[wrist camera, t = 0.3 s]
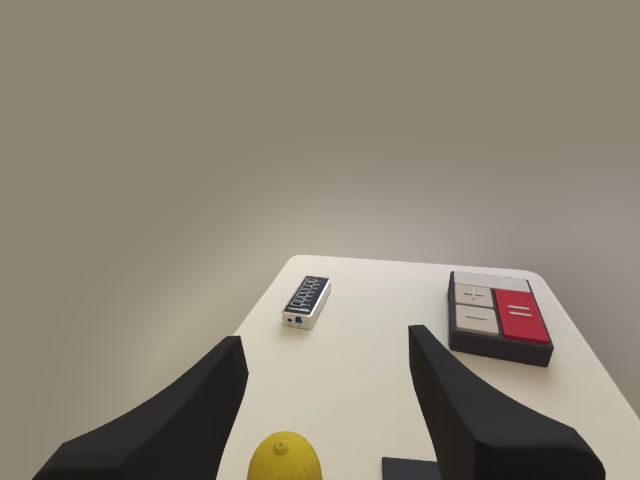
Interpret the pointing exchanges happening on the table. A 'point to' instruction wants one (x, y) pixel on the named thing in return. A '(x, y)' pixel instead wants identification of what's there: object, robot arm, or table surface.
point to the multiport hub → (307, 302)
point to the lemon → (284, 459)
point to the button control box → (497, 318)
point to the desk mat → (409, 469)
